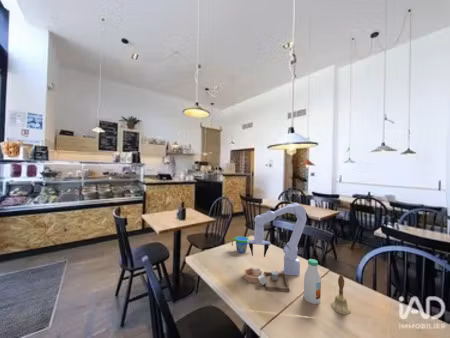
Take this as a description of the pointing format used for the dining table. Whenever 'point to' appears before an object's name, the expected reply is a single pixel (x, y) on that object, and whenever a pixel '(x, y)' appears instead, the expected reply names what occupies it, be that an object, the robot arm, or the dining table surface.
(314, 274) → the milk bottle
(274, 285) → the walnut tray
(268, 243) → the robot arm
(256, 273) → the beige block
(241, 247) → the snack cup
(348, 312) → the hand bell
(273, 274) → the blue-grey block
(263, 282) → the white block
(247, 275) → the terracotta bowl
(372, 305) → the dining table surface
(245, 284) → the dining table surface
